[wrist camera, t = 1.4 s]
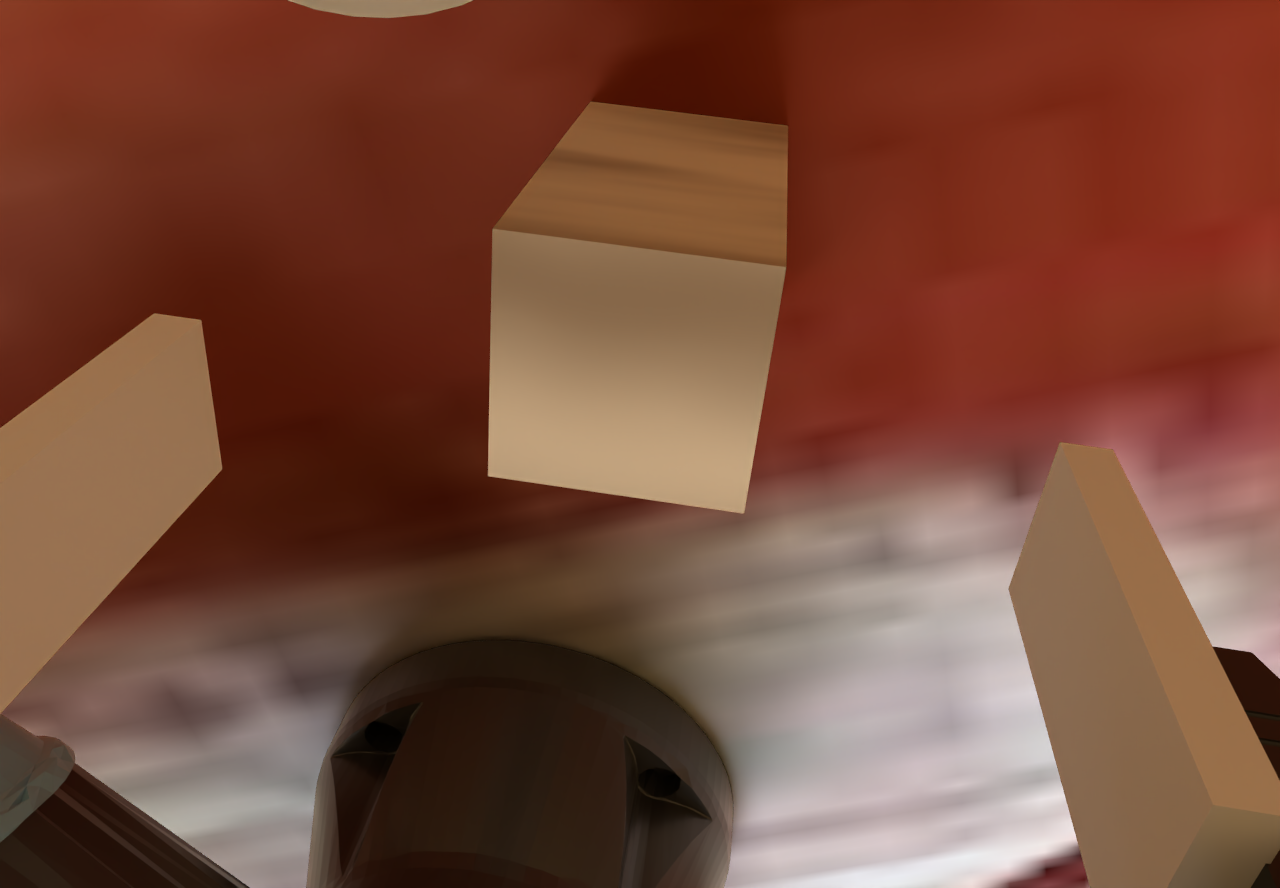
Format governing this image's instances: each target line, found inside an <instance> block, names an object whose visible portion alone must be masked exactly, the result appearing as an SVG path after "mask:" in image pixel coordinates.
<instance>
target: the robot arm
mask: <svg viewBox="0 0 1280 888" xmlns="http://www.w3.org/2000/svg"><path fill="white" fill-rule="evenodd" d="M221 470H222V463H221V455H220V448H219V441H218V434H217V427H216V420H215V413H214V406H213V399H212V392H211V385H210V378H209V371H208V364H207V357H206V350H205V343H204V336H203V329H202V321H201V320H198V319H191V318H184V317H177V316H170V315H163V314H156V313H154V314H153V315H151V316H150V317H148V318H147V319H146V320H144V321H143V322H142V323H140V324H139V325H138V326H136V327H135V328H134V329H132V330H131V331H130V332H128V333H127V334H126V335H124V336H123V337H122V338H120V339H119V340H118V341H116V342H115V343H114V344H112V345H111V346H110V347H108V348H107V349H106V350H104V351H103V352H102V353H100V354H99V355H98V356H96V357H95V358H94V359H92V360H91V361H89V362H88V363H87V364H85V365H84V366H83V367H81V368H80V369H79V370H77V371H76V372H75V373H73V374H72V375H71V376H69V377H68V378H67V379H65V380H64V381H63V382H61V383H60V384H59V385H57V386H56V387H55V388H53V389H52V390H51V391H49V392H48V393H47V394H45V395H44V396H43V397H41V398H40V399H39V400H37V401H36V402H34V403H33V404H32V405H30V406H29V407H28V408H26V409H25V410H24V411H22V412H21V413H20V414H18V415H17V416H16V417H14V418H13V419H12V420H10V421H9V422H8V423H6V424H5V425H4V426H2V427H1V428H0V888H249V887H248V886H247V885H245V884H244V883H242V882H241V881H240V880H238V879H237V878H235V877H234V876H233V875H231V874H230V873H228V872H227V871H226V870H224V869H223V868H221V867H220V866H219V865H217V864H216V863H214V862H213V861H212V860H210V859H209V858H207V857H206V856H205V855H203V854H202V853H200V852H199V851H198V850H196V849H195V848H193V847H192V846H191V845H189V844H188V843H186V842H185V841H184V840H182V839H181V838H179V837H178V836H177V835H175V834H174V833H172V832H171V831H169V830H168V829H167V828H165V827H164V826H162V825H161V824H160V823H158V822H157V821H155V820H154V819H153V818H151V817H150V816H148V815H147V814H146V813H144V812H143V811H141V810H140V809H139V808H137V807H136V806H134V805H133V804H132V803H130V802H129V801H127V800H126V799H125V798H123V797H122V796H120V795H119V794H118V793H116V792H115V791H113V790H112V789H111V788H109V787H108V786H106V785H105V784H104V783H102V782H101V781H99V780H98V779H97V778H95V777H94V776H92V775H91V774H90V773H88V772H87V771H85V770H84V769H83V768H81V767H80V766H78V765H77V764H75V755H74V752H73V750H72V749H71V748H70V747H69V746H67V745H66V744H65V743H63V742H62V741H60V740H59V739H57V738H54V737H48V736H35V735H33V734H32V733H30V732H28V731H27V730H25V729H24V728H22V727H21V726H19V725H17V724H16V723H14V722H13V721H11V720H9V719H8V718H6V717H5V716H3V715H2V714H1V713H2V712H3V711H4V709H5V708H6V707H7V706H8V705H9V704H10V703H11V702H12V701H13V699H14V698H15V697H16V696H17V695H18V694H19V693H20V692H21V691H22V690H23V688H24V687H25V686H26V685H27V684H28V683H29V682H30V681H31V680H32V679H33V677H34V676H35V675H36V674H37V673H38V672H39V671H40V670H41V669H42V668H43V666H44V665H45V664H46V663H47V662H48V661H49V660H50V659H51V658H52V656H53V655H54V654H55V653H56V652H57V651H58V650H59V649H60V648H61V647H62V645H63V644H64V643H65V642H66V641H67V640H68V639H69V638H70V637H71V636H72V634H73V633H74V632H75V631H76V630H77V629H78V628H79V627H80V626H81V625H82V623H83V622H84V621H85V620H86V619H87V618H88V617H89V616H90V615H91V613H92V612H93V611H94V610H95V609H96V608H97V607H98V606H99V605H100V604H101V602H102V601H103V600H104V599H105V598H106V597H107V596H108V595H109V594H110V593H111V591H112V590H113V589H114V588H115V587H116V586H117V585H118V584H119V583H120V582H121V580H122V579H123V578H124V577H125V576H126V575H127V574H128V573H129V572H130V570H131V569H132V568H133V567H134V566H135V565H136V564H137V563H138V562H139V561H140V559H141V558H142V557H143V556H144V555H145V554H146V553H147V552H148V551H149V550H150V548H151V547H152V546H153V545H154V544H155V543H156V542H157V541H158V540H159V539H160V537H161V536H162V535H163V534H164V533H165V532H166V531H167V530H168V529H169V527H170V526H171V525H172V524H173V523H174V522H175V521H176V520H177V519H178V518H179V516H180V515H181V514H182V513H183V512H184V511H185V510H186V509H187V508H188V507H189V505H190V504H191V503H192V502H193V501H194V500H195V499H196V498H197V497H198V496H199V494H200V493H201V492H202V491H203V490H204V489H205V488H206V487H207V486H208V484H209V483H210V482H211V481H212V480H213V479H214V478H215V477H216V476H217V475H218V473H219V472H220V471H221ZM1009 592H1010V596H1011V599H1012V603H1013V607H1014V610H1015V614H1016V618H1017V621H1018V625H1019V629H1020V632H1021V636H1022V640H1023V643H1024V647H1025V651H1026V654H1027V658H1028V662H1029V665H1030V669H1031V673H1032V676H1033V680H1034V684H1035V687H1036V691H1037V695H1038V698H1039V702H1040V706H1041V709H1042V713H1043V717H1044V720H1045V724H1046V728H1047V731H1048V735H1049V739H1050V742H1051V746H1052V750H1053V753H1054V757H1055V761H1056V764H1057V768H1058V772H1059V775H1060V779H1061V782H1062V786H1063V790H1064V793H1065V797H1066V801H1067V804H1068V808H1069V812H1070V815H1071V819H1072V823H1073V826H1074V830H1075V834H1076V837H1077V841H1078V845H1079V848H1080V852H1081V856H1082V859H1083V863H1084V867H1085V870H1086V874H1087V878H1088V881H1089V885H1090V888H1280V679H1279V678H1278V677H1277V676H1276V675H1275V674H1274V673H1273V672H1272V671H1271V670H1270V669H1269V668H1268V667H1267V666H1265V665H1264V664H1263V663H1262V662H1261V661H1260V660H1259V659H1258V658H1257V657H1256V656H1255V655H1254V654H1253V653H1251V652H1245V651H1238V650H1232V649H1225V648H1219V647H1212V645H1211V643H1210V641H1209V639H1208V637H1207V635H1206V633H1205V631H1204V629H1203V627H1202V625H1201V623H1200V621H1199V619H1198V617H1197V615H1196V613H1195V611H1194V609H1193V608H1192V606H1191V604H1190V602H1189V600H1188V598H1187V596H1186V594H1185V592H1184V590H1183V588H1182V586H1181V584H1180V582H1179V580H1178V578H1177V576H1176V574H1175V572H1174V570H1173V568H1172V566H1171V564H1170V562H1169V560H1168V558H1167V556H1166V554H1165V552H1164V550H1163V548H1162V546H1161V544H1160V542H1159V540H1158V538H1157V536H1156V534H1155V532H1154V530H1153V528H1152V526H1151V524H1150V522H1149V520H1148V518H1147V516H1146V514H1145V512H1144V510H1143V508H1142V506H1141V504H1140V502H1139V500H1138V498H1137V496H1136V494H1135V492H1134V490H1133V488H1132V486H1131V484H1130V482H1129V480H1128V478H1127V476H1126V474H1125V472H1124V470H1123V468H1122V466H1121V464H1120V462H1119V461H1118V459H1117V457H1116V455H1115V453H1114V451H1113V450H1112V449H1105V448H1098V447H1091V446H1084V445H1077V444H1070V443H1063V442H1060V443H1059V446H1058V449H1057V452H1056V454H1055V457H1054V460H1053V463H1052V466H1051V469H1050V472H1049V474H1048V477H1047V480H1046V483H1045V486H1044V489H1043V492H1042V495H1041V497H1040V500H1039V503H1038V506H1037V509H1036V512H1035V515H1034V517H1033V520H1032V523H1031V526H1030V529H1029V532H1028V535H1027V537H1026V540H1025V543H1024V546H1023V549H1022V552H1021V555H1020V557H1019V560H1018V563H1017V566H1016V569H1015V572H1014V575H1013V578H1012V580H1011V583H1010V586H1009ZM732 823H733V799H732V792H731V787H730V783H729V779H728V776H727V773H726V771H725V768H724V766H723V763H722V761H721V759H720V757H719V755H718V753H717V752H716V750H715V748H714V747H713V745H712V743H711V742H710V740H709V739H708V738H707V736H706V735H705V734H704V732H703V731H702V730H701V729H700V727H699V726H698V725H697V724H696V723H695V722H694V721H693V720H692V719H691V718H690V717H689V716H688V715H687V714H686V713H685V712H684V711H683V710H682V709H681V708H680V707H679V706H678V705H677V704H675V703H674V702H673V701H672V700H671V699H669V698H668V697H667V696H665V695H664V694H663V693H661V692H660V691H659V690H657V689H656V688H654V687H653V686H651V685H650V684H648V683H647V682H645V681H643V680H641V679H640V678H638V677H636V676H634V675H633V674H631V673H629V672H627V671H625V670H623V669H621V668H619V667H616V666H614V665H612V664H610V663H607V662H605V661H602V660H600V659H597V658H594V657H591V656H589V655H585V654H582V653H579V652H576V651H572V650H568V649H564V648H560V647H556V646H550V645H545V644H540V643H532V642H524V641H510V640H485V641H471V642H462V643H456V644H450V645H445V646H441V647H437V648H433V649H430V650H427V651H424V652H421V653H418V654H415V655H413V656H411V657H408V658H406V659H404V660H402V661H400V662H398V663H396V664H394V665H393V666H391V667H389V668H388V669H386V670H385V671H383V672H382V673H381V674H379V675H378V676H377V677H375V678H374V679H373V680H372V681H371V682H370V683H369V684H367V685H366V686H365V687H364V689H363V690H362V691H361V692H360V693H359V694H358V695H357V697H356V698H355V700H354V701H353V702H352V704H351V706H350V707H349V709H348V711H347V713H346V715H345V717H344V719H343V721H342V723H341V725H340V727H339V729H338V731H337V732H336V734H335V736H334V738H333V740H332V742H331V744H330V746H329V748H328V750H327V753H326V755H325V757H324V760H323V763H322V767H321V770H320V773H319V777H318V781H317V787H316V795H315V805H314V815H313V825H312V835H311V845H310V855H309V865H308V875H307V885H306V888H724V886H725V882H726V878H727V874H728V870H729V863H730V854H731V838H732Z"/></svg>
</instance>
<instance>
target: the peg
mask: <svg viewBox="0 0 1280 888" xmlns="http://www.w3.org/2000/svg"><path fill="white" fill-rule="evenodd" d="M787 179H788V126H787V125H779V124H771V123H763V122H754V121H746V120H738V119H730V118H722V117H714V116H705V115H697V114H689V113H681V112H673V111H665V110H656V109H648V108H640V107H632V106H624V105H616V104H607V103H599V102H591V101H590V103H589V104H588V105H587V107H586V108H585V109H584V110H583V112H582V113H581V114H580V116H579V117H578V118H577V120H576V121H575V122H574V123H573V125H572V126H571V127H570V129H569V130H568V131H567V133H566V134H565V135H564V136H563V138H562V139H561V140H560V142H559V143H558V144H557V146H556V147H555V148H554V149H553V151H552V152H551V153H550V155H549V156H548V157H547V158H546V160H545V161H544V162H543V164H542V165H541V166H540V168H539V169H538V170H537V171H536V173H535V174H534V175H533V177H532V178H531V179H530V181H529V182H528V183H527V184H526V186H525V187H524V188H523V190H522V191H521V192H520V194H519V195H518V196H517V197H516V199H515V200H514V201H513V203H512V204H511V205H510V207H509V208H508V209H507V210H506V212H505V213H504V214H503V216H502V217H501V218H500V219H499V221H498V222H497V223H496V225H495V226H494V227H493V229H492V280H491V334H490V389H489V444H488V476H490V477H497V478H504V479H510V480H517V481H524V482H531V483H538V484H545V485H551V486H558V487H565V488H572V489H579V490H586V491H592V492H599V493H606V494H613V495H620V496H627V497H634V498H640V499H647V500H654V501H661V502H668V503H675V504H681V505H688V506H695V507H702V508H709V509H716V510H722V511H729V512H736V513H743V514H744V511H745V505H746V499H747V493H748V488H749V482H750V476H751V470H752V464H753V458H754V453H755V447H756V441H757V435H758V429H759V424H760V418H761V412H762V406H763V400H764V395H765V389H766V383H767V377H768V371H769V365H770V360H771V354H772V348H773V342H774V336H775V331H776V325H777V319H778V313H779V307H780V302H781V296H782V290H783V284H784V278H785V272H786V260H787Z"/></svg>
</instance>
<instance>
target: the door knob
mask: <svg viewBox="0 0 1280 888" xmlns="http://www.w3.org/2000/svg"><path fill="white" fill-rule="evenodd" d="M288 1H291V2H294V3H297V4H300V5H303V6H306V7H309V8H312V9H316V10H321V11H326V12H332V13H337V14H342V15H347V16H355V17H376V18H395V17H405V16H415V15H425V14H429V13H433V12H437V11H441V10H445V9H449V8H453V7H457V6H461V5H464V4H466V3H468V2H471V1H473V0H288Z"/></svg>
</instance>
